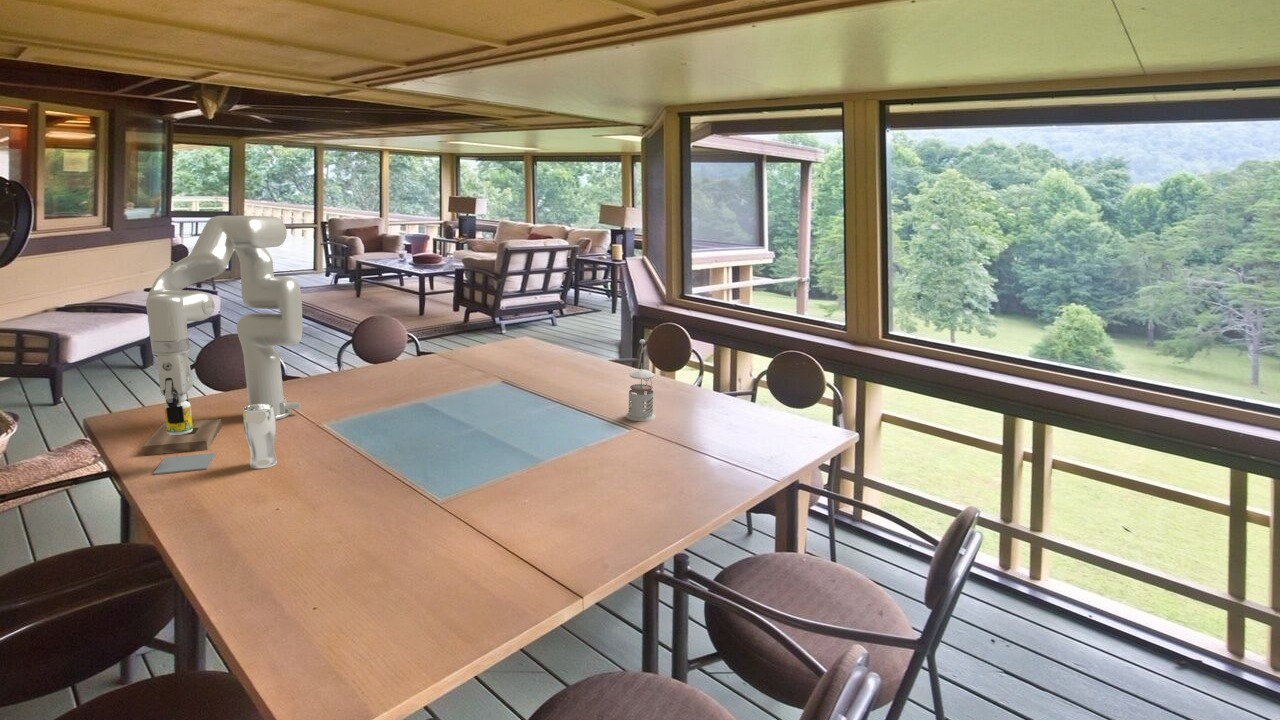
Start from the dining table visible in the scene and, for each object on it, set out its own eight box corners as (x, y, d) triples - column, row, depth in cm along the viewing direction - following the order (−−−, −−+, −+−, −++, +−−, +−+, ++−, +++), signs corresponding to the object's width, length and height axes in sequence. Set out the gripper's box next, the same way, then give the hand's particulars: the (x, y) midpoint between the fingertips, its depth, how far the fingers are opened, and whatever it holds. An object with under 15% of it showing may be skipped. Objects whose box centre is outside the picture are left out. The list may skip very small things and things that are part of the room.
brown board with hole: (221, 427, 201) (220, 418, 200) (207, 449, 183) (206, 440, 182) (164, 431, 196) (163, 423, 195) (144, 455, 178) (143, 446, 177)
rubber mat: (215, 454, 179) (215, 453, 179) (206, 469, 169) (206, 468, 169) (165, 459, 175) (164, 457, 175) (153, 474, 165) (153, 473, 165)
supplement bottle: (192, 428, 174) (189, 391, 172) (193, 433, 170) (190, 395, 168) (166, 430, 171) (163, 393, 169) (166, 436, 167) (163, 397, 165)
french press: (620, 418, 218) (621, 340, 213) (634, 409, 229) (636, 334, 223) (649, 422, 214) (651, 343, 209) (662, 412, 225) (664, 337, 220)
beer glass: (270, 457, 178) (264, 401, 175) (285, 463, 174) (279, 406, 171) (242, 465, 173) (236, 407, 169) (256, 471, 169) (250, 412, 165)
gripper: (180, 352, 159) (189, 427, 163) (196, 339, 175) (204, 408, 179) (141, 354, 157) (151, 430, 161) (161, 340, 172) (170, 410, 176)
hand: (179, 418), depth 170 cm, fingers closed on supplement bottle, 5 cm apart
